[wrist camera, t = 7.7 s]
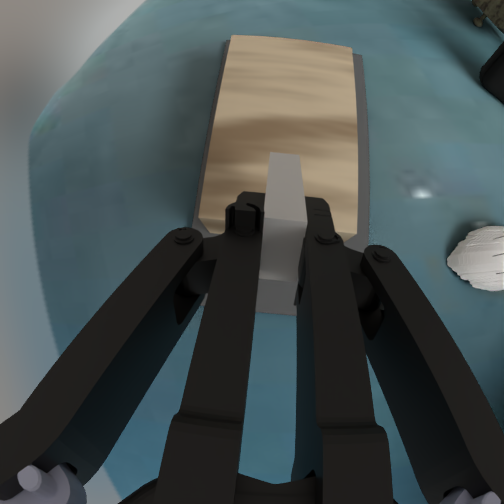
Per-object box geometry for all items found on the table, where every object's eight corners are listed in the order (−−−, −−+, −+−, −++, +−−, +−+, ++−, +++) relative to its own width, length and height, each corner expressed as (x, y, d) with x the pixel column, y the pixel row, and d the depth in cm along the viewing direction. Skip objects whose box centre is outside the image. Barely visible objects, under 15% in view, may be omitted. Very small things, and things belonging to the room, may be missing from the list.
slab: (356, 234, 20) (351, 47, 22) (198, 217, 20) (231, 35, 22) (338, 246, 25) (340, 81, 27) (210, 233, 25) (235, 70, 27)
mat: (360, 320, 24) (362, 320, 24) (184, 303, 25) (182, 303, 24) (360, 58, 28) (361, 55, 27) (227, 43, 28) (226, 40, 28)
